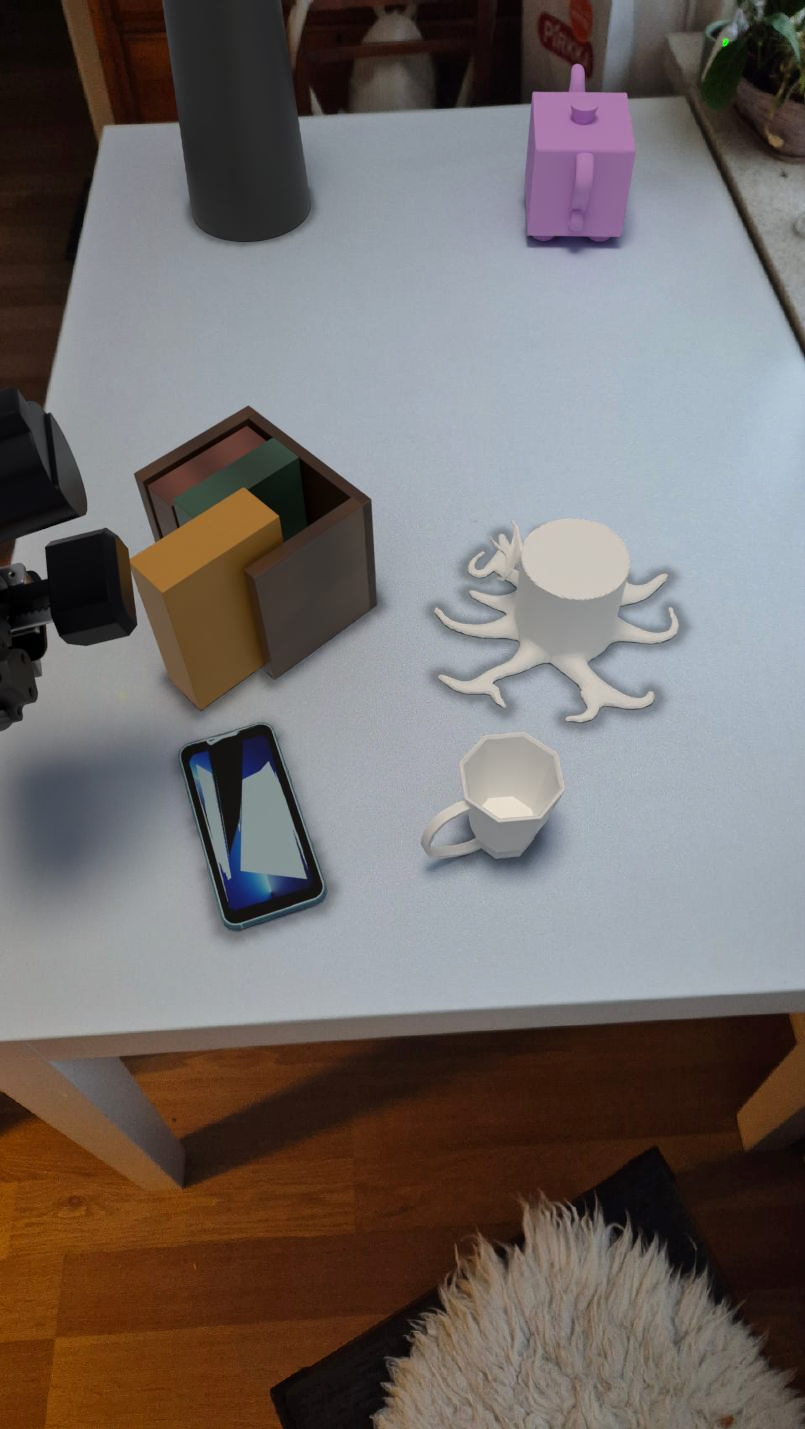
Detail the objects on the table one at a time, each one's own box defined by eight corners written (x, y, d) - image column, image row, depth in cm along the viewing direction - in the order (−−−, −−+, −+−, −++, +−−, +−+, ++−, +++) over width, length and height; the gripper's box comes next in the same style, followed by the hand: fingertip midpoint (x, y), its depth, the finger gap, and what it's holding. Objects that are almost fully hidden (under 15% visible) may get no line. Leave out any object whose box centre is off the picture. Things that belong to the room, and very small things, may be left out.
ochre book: (200, 711, 78) (161, 592, 66) (169, 680, 79) (126, 560, 68) (299, 639, 81) (279, 515, 70) (268, 611, 83) (243, 486, 71)
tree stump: (521, 505, 89) (529, 433, 83) (722, 601, 83) (749, 532, 76) (389, 654, 80) (386, 587, 74) (603, 774, 74) (621, 714, 67)
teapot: (620, 264, 109) (641, 145, 99) (526, 262, 109) (537, 144, 99) (607, 165, 120) (626, 49, 110) (522, 164, 120) (532, 48, 110)
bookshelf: (274, 679, 79) (251, 569, 68) (166, 579, 85) (129, 463, 74) (377, 604, 83) (371, 488, 72) (267, 513, 89) (246, 394, 78)
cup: (572, 849, 71) (588, 794, 64) (448, 913, 68) (450, 862, 62) (519, 773, 74) (529, 713, 68) (399, 831, 72) (397, 775, 65)
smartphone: (224, 930, 67) (174, 747, 75) (226, 935, 68) (177, 753, 75) (330, 895, 68) (271, 718, 76) (331, 900, 69) (272, 725, 77)
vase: (208, 172, 120) (155, -131, 96) (320, 179, 119) (295, -126, 95) (178, 237, 113) (113, -73, 89) (297, 245, 112) (264, -67, 88)
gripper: (-286, 744, 49) (-98, 820, 63) (87, 655, 48) (190, 753, 62) (-277, 546, 52) (-102, 661, 67) (67, 461, 52) (169, 596, 66)
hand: (36, 671), depth 66 cm, fingers closed
